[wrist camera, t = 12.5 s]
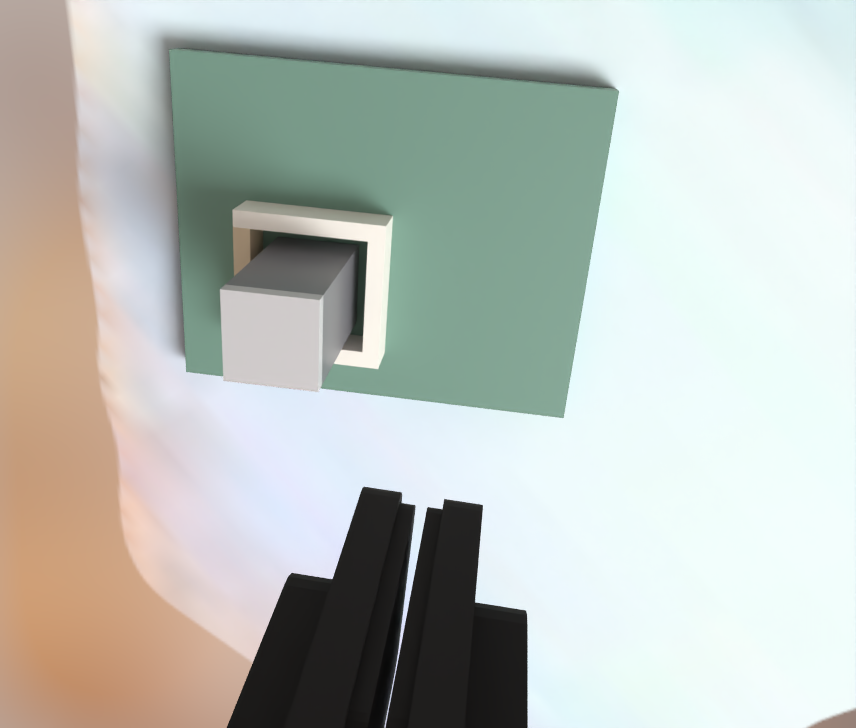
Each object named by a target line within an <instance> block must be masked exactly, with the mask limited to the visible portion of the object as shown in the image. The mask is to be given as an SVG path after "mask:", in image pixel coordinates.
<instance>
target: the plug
mask: <svg viewBox="0 0 856 728" xmlns="http://www.w3.org/2000/svg"><path fill="white" fill-rule="evenodd" d="M358 265H359V245H355V244H346V243H336V242H326V241H316V240H307V239H297V238H287V237H277V238H276V239H275V240H274V241H272V242H271V243H270V244H269V245H268V246H267V247H266V248H265V249H264V250H263V251H261V252H260V253H259V254H258V255H257V256H256V257H255V258H254V259H253V260H252V261H250V262H249V263H248V264H247V265H246V266H245V267H244V268H243V269H242V270H241V271H239V272H238V273H237V274H236V275H235V276H234V277H233V278H232V279H231V280H230V281H228V282H227V283H226V284H225V285H224V286H223V287H222V288H221V289H220V305H221V331H222V356H223V381H229V382H238V383H246V384H255V385H263V386H272V387H280V388H289V389H298V390H306V391H315V392H319V390H320V388H321V386H322V384H323V382H324V381H325V379H326V377H327V375H328V373H329V371H330V370H331V368H332V366H333V364H334V362H335V360H336V359H337V357H338V355H339V353H340V351H341V349H342V348H343V346H344V344H345V342H346V340H347V338H348V337H349V335H350V333H351V331H352V329H353V327H354V326H355V324H356V319H357V292H358Z"/></svg>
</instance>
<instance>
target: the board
mask: <svg viewBox="0 0 856 728" xmlns="http://www.w3.org/2000/svg"><path fill="white" fill-rule="evenodd" d="M169 57H170V76H171V94H172V113H173V132H174V151H175V169H176V188H177V207H178V226H179V244H180V263H181V282H182V301H183V319H184V338H185V357H186V372H192V373H200V374H208V375H216V376H223V356H222V331H221V305H220V289H221V288H222V287H223V286H224V285H225V284H226V283H227V282H228V281H230V280H231V279H232V278H233V277H234V276H235V275H236V274H237V273H238V272H239V271H241V270H242V269H243V268H244V267H245V266H246V265H247V264H248V263H249V262H250V261H252V260H253V259H254V258H255V257H256V256H257V255H258V254H259V253H260V252H261V251H263V250H264V249H265V248H266V247H267V246H268V245H269V244H270V243H271V242H272V241H274V240H275V239H276V238H277V237H287V238H297V239H307V240H316V241H326V242H336V243H346V244H355V245H359V265H358V292H357V319H356V324H355V326H354V327H353V329H352V331H351V333H350V335H349V337H348V338H347V340H346V342H345V344H344V346H343V348H342V349H341V351H340V353H339V355H338V357H337V359H336V360H335V362H334V364H333V366H332V368H331V370H330V371H329V373H328V375H327V377H326V379H325V381H324V382H323V384H322V386H321V388H323V389H331V390H339V391H347V392H355V393H363V394H371V395H380V396H388V397H396V398H404V399H412V400H420V401H429V402H437V403H445V404H453V405H461V406H469V407H478V408H486V409H494V410H502V411H510V412H518V413H527V414H535V415H543V416H551V417H559V418H564V412H565V406H566V400H567V394H568V388H569V382H570V376H571V370H572V365H573V359H574V353H575V347H576V341H577V335H578V329H579V323H580V318H581V312H582V306H583V300H584V294H585V288H586V282H587V276H588V270H589V265H590V259H591V253H592V247H593V241H594V235H595V229H596V223H597V218H598V212H599V206H600V200H601V194H602V188H603V182H604V176H605V170H606V165H607V159H608V153H609V147H610V141H611V135H612V129H613V123H614V118H615V112H616V106H617V100H618V94H619V91H618V90H617V89H614V88H603V87H592V86H581V85H571V84H560V83H549V82H538V81H527V80H517V79H506V78H495V77H484V76H474V75H463V74H452V73H441V72H430V71H420V70H409V69H398V68H387V67H376V66H366V65H355V64H344V63H333V62H323V61H312V60H301V59H290V58H279V57H269V56H258V55H247V54H236V53H225V52H215V51H204V50H193V49H182V48H178V49H169Z"/></svg>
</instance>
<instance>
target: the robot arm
mask: <svg viewBox="0 0 856 728" xmlns="http://www.w3.org/2000/svg"><path fill="white" fill-rule="evenodd" d="M401 502H402V493H401V492H395V491H388V490H382V489H375V488H369V487H363V488H362V491H361V494H360V497H359V500H358V503H357V506H356V509H355V512H354V515H353V518H352V521H351V524H350V528H349V531H348V534H347V537H346V540H345V543H344V546H343V549H342V552H341V555H340V558H339V561H338V564H337V567H336V570H335V574H334V577H333V579H326V578H320V577H314V576H308V575H301V574H295V573H291V574H290V575H289V577H288V578H287V581H286V583H285V585H284V587H283V590H282V592H281V595H280V597H279V599H278V602H277V604H276V607H275V609H274V612H273V614H272V617H271V619H270V622H269V624H268V627H267V629H266V632H265V634H264V637H263V639H262V642H261V644H260V647H259V649H258V652H257V654H256V657H255V659H254V661H253V664H252V667H251V669H250V671H249V674H248V676H247V679H246V681H245V684H244V686H243V689H242V691H241V694H240V696H239V699H238V701H237V704H236V706H235V709H234V711H233V714H232V716H231V719H230V721H229V723H228V726H227V728H384V725H385V720H386V715H387V710H388V704H389V699H390V694H391V689H392V684H393V678H394V673H395V667H396V661H397V655H398V648H399V640H400V631H401V623H402V615H403V607H404V598H405V590H406V582H407V573H408V565H409V557H410V549H411V540H412V532H413V524H414V515H415V505H410V504H404V503H401ZM482 510H483V505H479V504H473V503H466V502H460V501H453V500H447V499H444V504H443V510H442V509H436V508H429V507H428V508H427V512H426V517H425V523H424V528H423V533H422V539H421V544H420V549H419V554H418V560H417V565H416V570H415V575H414V581H413V586H412V591H411V597H410V602H409V607H408V612H407V618H406V623H405V628H404V633H403V639H402V644H401V649H400V655H399V660H398V665H397V670H396V676H395V681H394V686H393V691H392V697H391V702H390V707H389V713H388V718H387V723H386V728H527V613H526V611H525V610H519V609H513V608H506V607H500V606H494V605H488V604H482V603H475V594H476V582H477V570H478V558H479V546H480V534H481V522H482Z"/></svg>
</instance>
